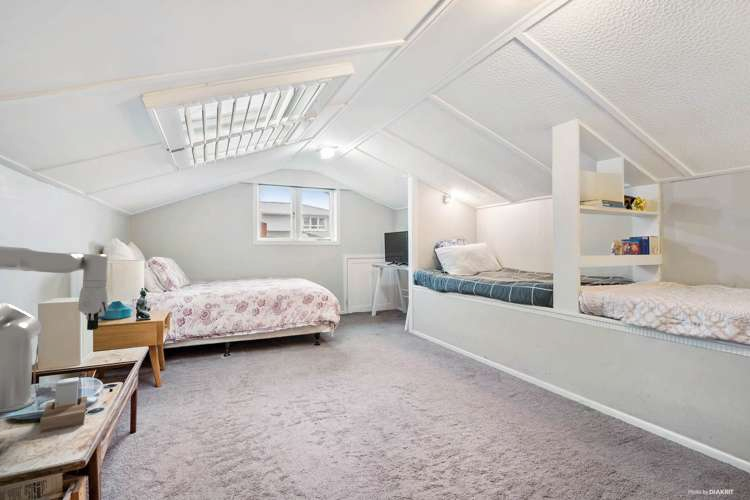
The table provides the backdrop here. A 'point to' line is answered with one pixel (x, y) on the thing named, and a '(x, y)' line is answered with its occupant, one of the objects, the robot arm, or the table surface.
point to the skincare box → (66, 392)
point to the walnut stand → (63, 416)
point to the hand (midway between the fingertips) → (92, 329)
